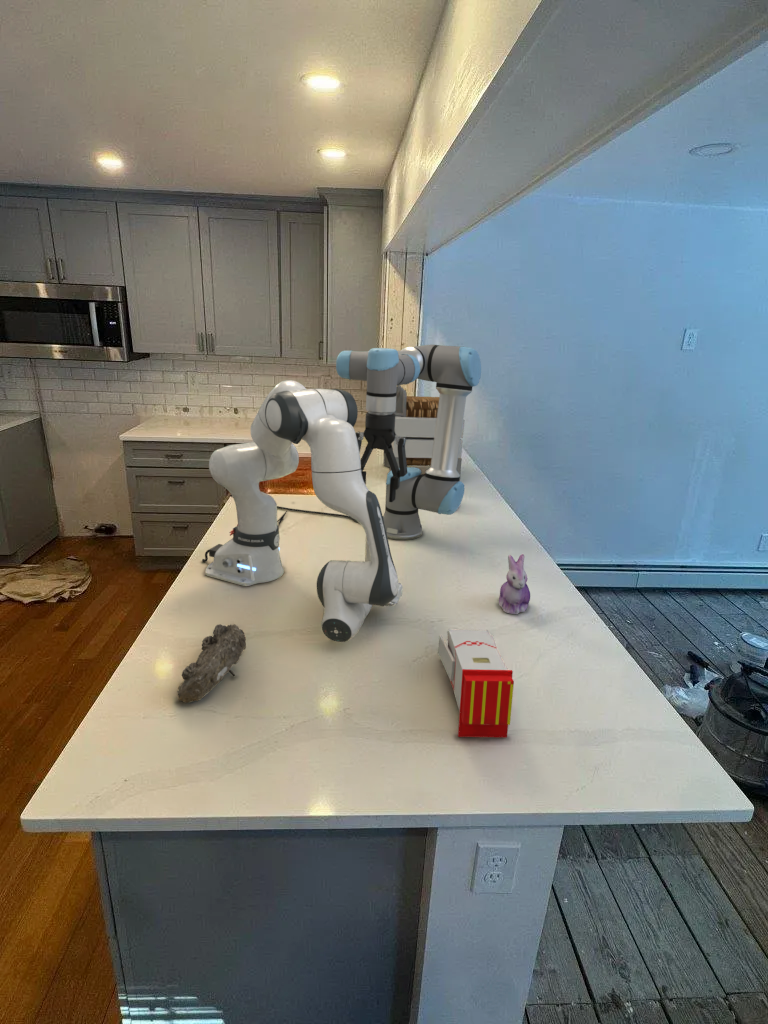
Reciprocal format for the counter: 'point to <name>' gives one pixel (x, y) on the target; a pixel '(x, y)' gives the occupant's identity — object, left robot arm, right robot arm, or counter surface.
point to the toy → (478, 682)
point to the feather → (281, 518)
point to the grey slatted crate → (417, 428)
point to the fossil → (212, 662)
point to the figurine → (515, 588)
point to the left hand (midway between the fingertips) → (370, 575)
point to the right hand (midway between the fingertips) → (377, 498)
